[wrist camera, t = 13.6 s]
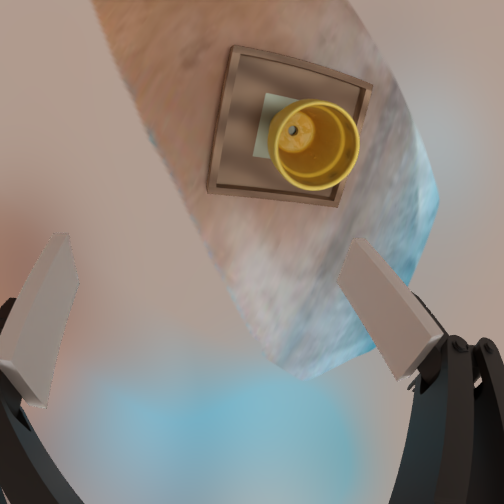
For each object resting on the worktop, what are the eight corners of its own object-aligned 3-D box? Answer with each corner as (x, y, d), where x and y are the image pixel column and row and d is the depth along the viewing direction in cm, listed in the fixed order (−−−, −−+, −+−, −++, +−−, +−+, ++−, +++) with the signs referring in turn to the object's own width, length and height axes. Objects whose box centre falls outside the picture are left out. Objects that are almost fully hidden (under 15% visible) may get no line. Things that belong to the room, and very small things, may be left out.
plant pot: (237, 124, 36) (254, 139, 28) (299, 79, 33) (333, 83, 26) (282, 179, 41) (307, 208, 33) (337, 137, 39) (374, 157, 31)
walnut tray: (231, 46, 30) (234, 44, 28) (364, 83, 36) (373, 84, 34) (206, 187, 40) (207, 193, 39) (331, 201, 46) (337, 207, 44)
